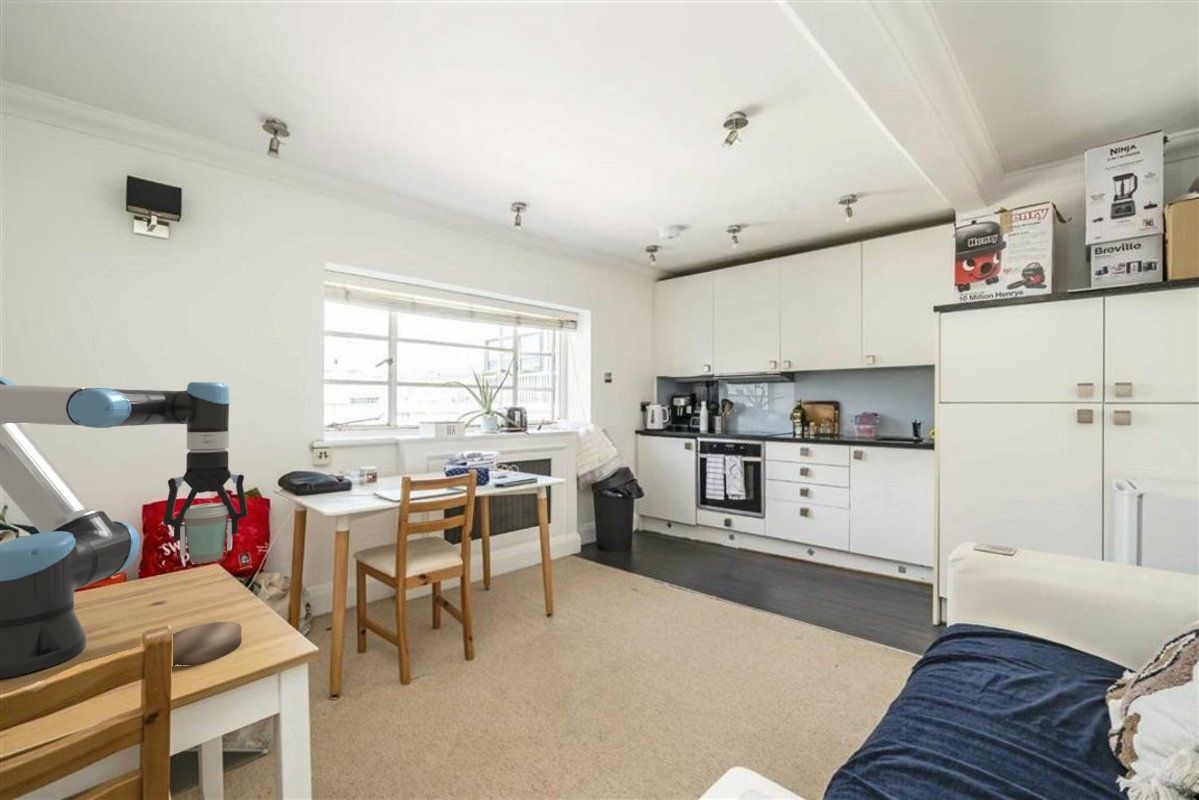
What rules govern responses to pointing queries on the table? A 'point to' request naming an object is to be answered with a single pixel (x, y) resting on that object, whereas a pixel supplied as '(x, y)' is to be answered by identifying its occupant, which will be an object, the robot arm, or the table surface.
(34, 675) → the table surface
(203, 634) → the walnut stand
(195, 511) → the coffee cup
